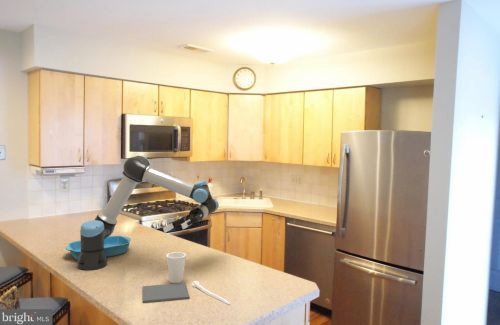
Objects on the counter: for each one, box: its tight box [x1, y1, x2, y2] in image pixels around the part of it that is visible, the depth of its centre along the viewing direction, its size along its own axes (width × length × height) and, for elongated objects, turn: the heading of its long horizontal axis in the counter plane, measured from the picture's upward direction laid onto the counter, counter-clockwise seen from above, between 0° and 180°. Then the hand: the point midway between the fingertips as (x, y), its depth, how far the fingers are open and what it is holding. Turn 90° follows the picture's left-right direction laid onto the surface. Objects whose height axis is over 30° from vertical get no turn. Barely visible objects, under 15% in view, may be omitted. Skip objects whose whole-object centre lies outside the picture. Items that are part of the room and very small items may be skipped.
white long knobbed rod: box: [191, 280, 231, 306], centre depth 177 cm, size 28×4×3 cm, turn 44°
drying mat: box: [142, 282, 190, 304], centre depth 176 cm, size 20×16×1 cm
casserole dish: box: [65, 235, 132, 261], centre depth 229 cm, size 37×22×7 cm, turn 127°
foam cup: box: [165, 251, 187, 284], centre depth 190 cm, size 10×9×13 cm
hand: (173, 228), depth 197 cm, fingers open, 13 cm apart
